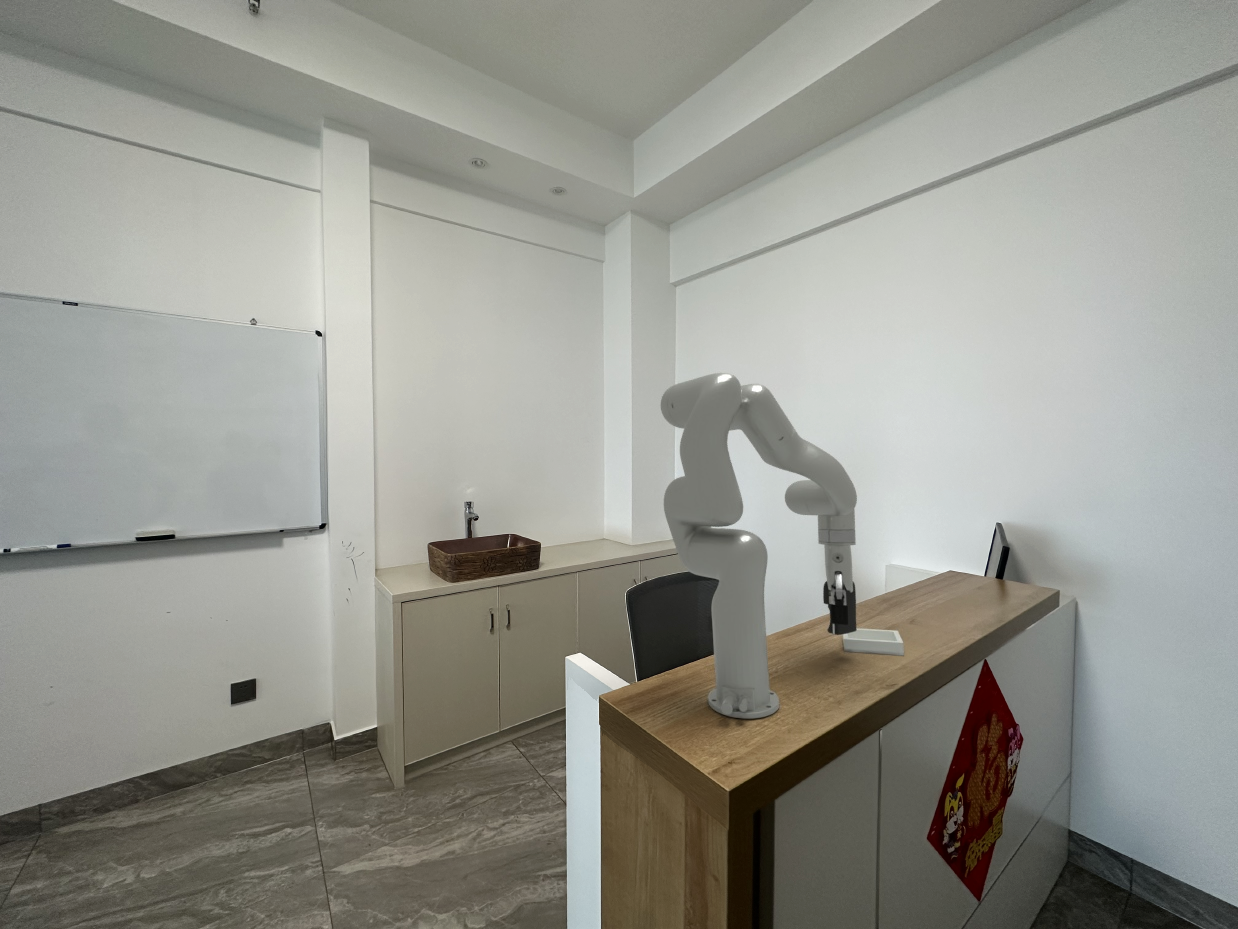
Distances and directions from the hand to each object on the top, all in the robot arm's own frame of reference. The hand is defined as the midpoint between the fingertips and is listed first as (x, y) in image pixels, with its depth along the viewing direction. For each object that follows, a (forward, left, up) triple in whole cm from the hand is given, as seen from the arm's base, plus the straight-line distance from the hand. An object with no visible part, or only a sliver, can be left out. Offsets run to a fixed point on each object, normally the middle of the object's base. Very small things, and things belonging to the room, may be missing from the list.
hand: (839, 619), depth 111 cm
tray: (+11, -7, -9) cm, 16 cm away
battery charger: (0, 0, -3) cm, 3 cm away
